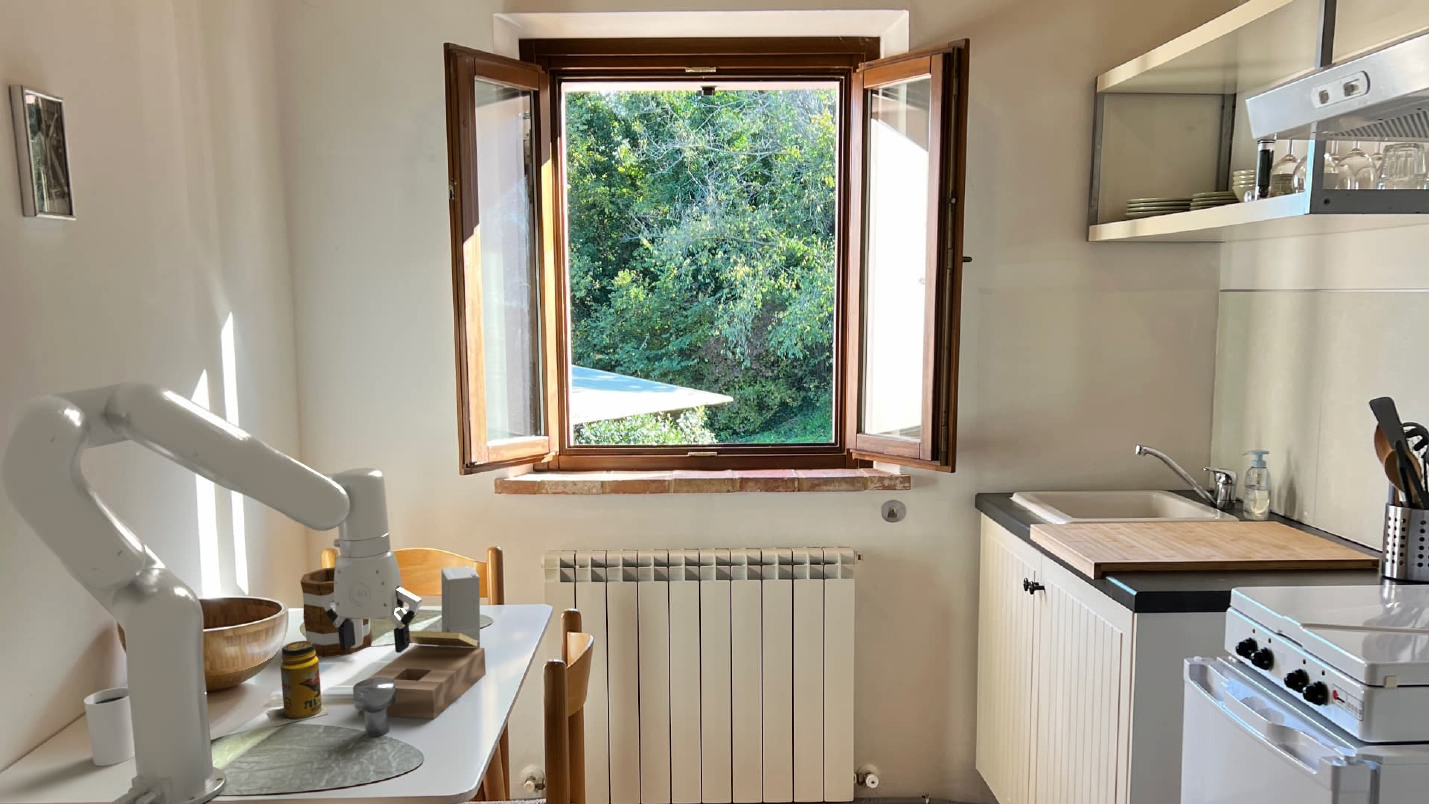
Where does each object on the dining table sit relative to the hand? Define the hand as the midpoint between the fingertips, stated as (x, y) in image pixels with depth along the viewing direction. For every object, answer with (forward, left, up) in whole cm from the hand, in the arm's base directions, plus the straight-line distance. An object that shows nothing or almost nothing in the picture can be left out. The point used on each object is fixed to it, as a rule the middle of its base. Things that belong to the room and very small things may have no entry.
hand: (375, 648), depth 158 cm
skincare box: (+38, +4, -14) cm, 41 cm away
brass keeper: (+22, 0, -7) cm, 23 cm away
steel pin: (-1, 0, -14) cm, 14 cm away
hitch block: (+15, 0, -14) cm, 21 cm away
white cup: (-15, +37, -14) cm, 42 cm away
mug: (+34, +28, -14) cm, 47 cm away
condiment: (+4, +18, -14) cm, 24 cm away
